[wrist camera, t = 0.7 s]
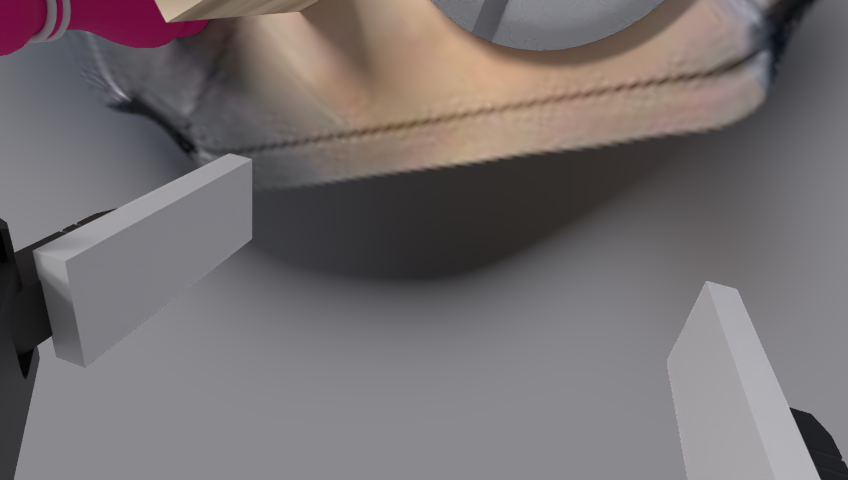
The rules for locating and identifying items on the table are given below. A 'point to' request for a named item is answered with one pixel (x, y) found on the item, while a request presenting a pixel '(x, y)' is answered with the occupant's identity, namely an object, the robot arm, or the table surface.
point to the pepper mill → (89, 22)
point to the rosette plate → (545, 20)
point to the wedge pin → (226, 8)
